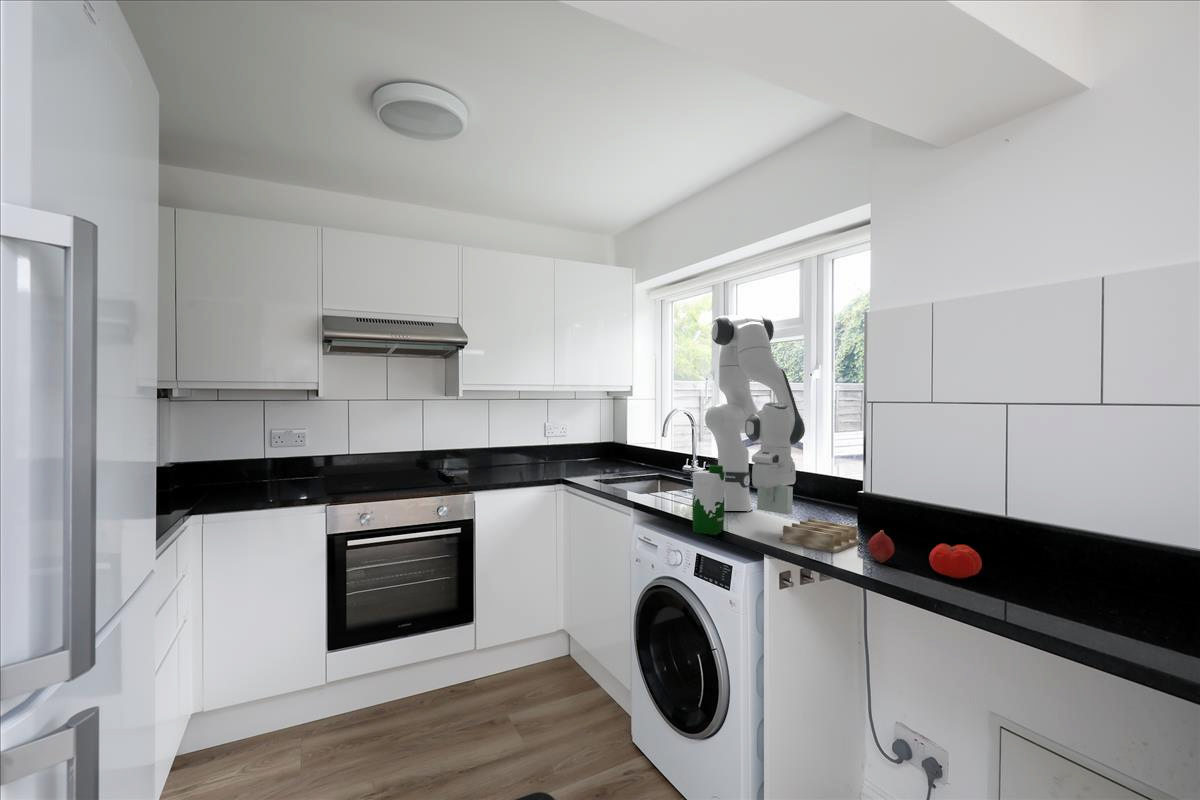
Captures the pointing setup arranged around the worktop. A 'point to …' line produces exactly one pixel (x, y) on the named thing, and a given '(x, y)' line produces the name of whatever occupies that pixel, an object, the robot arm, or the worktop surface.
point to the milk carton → (708, 500)
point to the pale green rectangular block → (776, 500)
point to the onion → (881, 546)
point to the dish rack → (821, 535)
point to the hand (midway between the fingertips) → (774, 501)
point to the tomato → (955, 561)
